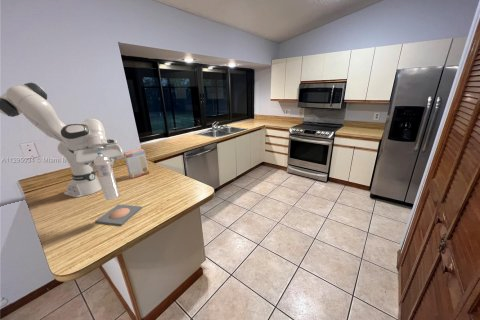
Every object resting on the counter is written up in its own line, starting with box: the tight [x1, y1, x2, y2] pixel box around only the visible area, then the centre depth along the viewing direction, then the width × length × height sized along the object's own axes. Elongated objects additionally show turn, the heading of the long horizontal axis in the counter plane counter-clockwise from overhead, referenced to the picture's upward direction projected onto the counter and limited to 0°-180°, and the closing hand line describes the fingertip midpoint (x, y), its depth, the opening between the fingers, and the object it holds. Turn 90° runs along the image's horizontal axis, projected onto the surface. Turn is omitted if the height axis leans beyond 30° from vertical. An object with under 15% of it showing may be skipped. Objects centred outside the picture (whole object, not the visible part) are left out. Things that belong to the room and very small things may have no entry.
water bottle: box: [93, 152, 120, 201], centre depth 100 cm, size 7×7×25 cm
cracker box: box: [123, 148, 150, 180], centre depth 158 cm, size 14×6×21 cm, turn 135°
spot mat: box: [94, 204, 143, 226], centre depth 109 cm, size 16×16×1 cm
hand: (103, 168), depth 98 cm, fingers closed on water bottle, 6 cm apart
